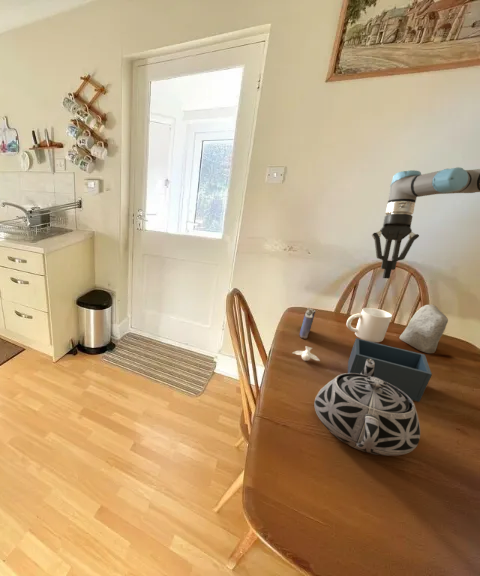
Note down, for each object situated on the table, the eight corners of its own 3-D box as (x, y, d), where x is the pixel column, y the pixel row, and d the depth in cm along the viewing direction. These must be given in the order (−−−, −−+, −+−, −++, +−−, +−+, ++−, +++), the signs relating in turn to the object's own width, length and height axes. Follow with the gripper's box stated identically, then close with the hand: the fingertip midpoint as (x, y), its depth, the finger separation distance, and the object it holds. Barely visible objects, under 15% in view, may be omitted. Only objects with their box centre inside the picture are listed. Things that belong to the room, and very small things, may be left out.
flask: (306, 340, 115) (313, 313, 111) (297, 337, 116) (304, 311, 113) (310, 330, 121) (317, 305, 117) (301, 328, 123) (308, 303, 119)
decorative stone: (439, 355, 105) (457, 315, 99) (418, 353, 105) (435, 314, 100) (413, 338, 115) (429, 301, 109) (395, 337, 115) (409, 300, 110)
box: (413, 380, 93) (424, 354, 89) (419, 402, 84) (432, 374, 81) (348, 361, 102) (355, 337, 98) (347, 380, 93) (355, 354, 90)
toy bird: (290, 357, 103) (294, 343, 103) (291, 355, 107) (295, 342, 107) (319, 366, 98) (323, 352, 98) (319, 364, 102) (323, 350, 102)
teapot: (403, 409, 82) (424, 361, 76) (421, 502, 59) (452, 443, 54) (316, 381, 93) (329, 337, 87) (303, 451, 70) (320, 397, 65)
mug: (346, 339, 115) (354, 314, 111) (339, 328, 122) (346, 304, 118) (387, 344, 111) (396, 318, 107) (377, 333, 118) (385, 309, 114)
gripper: (377, 212, 116) (365, 275, 118) (426, 213, 109) (412, 280, 111) (373, 216, 122) (362, 276, 124) (419, 217, 115) (406, 280, 117)
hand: (386, 278), depth 117 cm, fingers closed
